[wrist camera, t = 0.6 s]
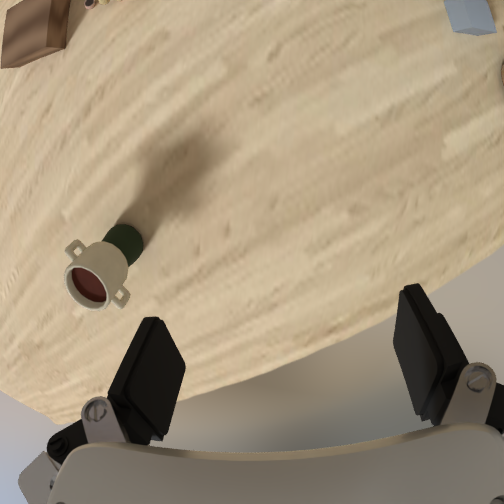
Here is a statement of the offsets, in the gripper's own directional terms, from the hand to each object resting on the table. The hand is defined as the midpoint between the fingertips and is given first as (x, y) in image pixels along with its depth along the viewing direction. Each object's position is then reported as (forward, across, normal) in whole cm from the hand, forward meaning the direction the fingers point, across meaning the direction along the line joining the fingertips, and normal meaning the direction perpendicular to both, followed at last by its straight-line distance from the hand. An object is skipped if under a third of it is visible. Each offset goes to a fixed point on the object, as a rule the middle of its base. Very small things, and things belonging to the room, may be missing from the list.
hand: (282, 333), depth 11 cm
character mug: (+29, +24, +7) cm, 38 cm away
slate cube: (+29, -31, -20) cm, 47 cm away
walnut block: (+29, +30, -32) cm, 53 cm away
